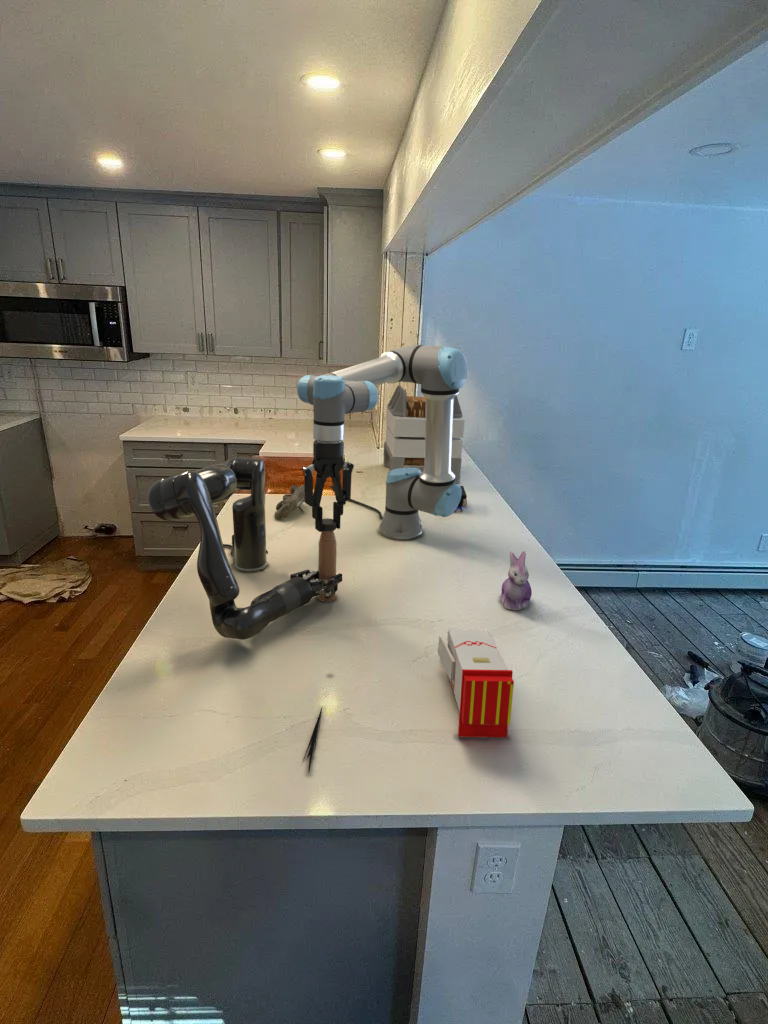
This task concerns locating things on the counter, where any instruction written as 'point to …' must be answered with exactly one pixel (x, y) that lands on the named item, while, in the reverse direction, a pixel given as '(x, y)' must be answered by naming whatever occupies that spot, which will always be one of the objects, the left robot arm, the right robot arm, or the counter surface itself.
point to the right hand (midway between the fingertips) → (327, 528)
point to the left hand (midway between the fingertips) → (333, 573)
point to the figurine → (516, 584)
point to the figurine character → (462, 500)
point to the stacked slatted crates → (416, 432)
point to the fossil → (290, 502)
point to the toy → (478, 682)
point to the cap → (328, 524)
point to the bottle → (327, 559)
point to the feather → (313, 740)
